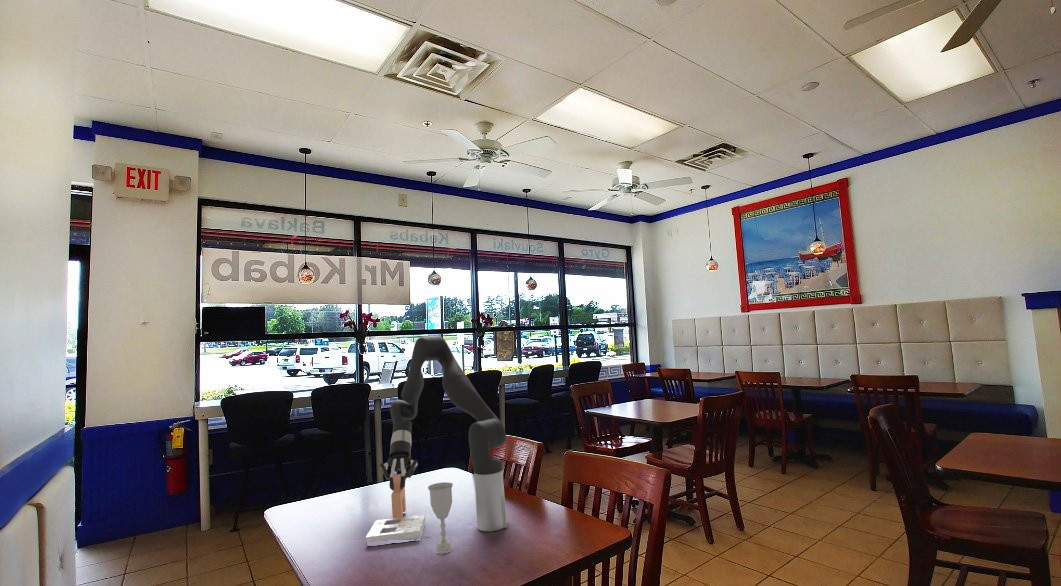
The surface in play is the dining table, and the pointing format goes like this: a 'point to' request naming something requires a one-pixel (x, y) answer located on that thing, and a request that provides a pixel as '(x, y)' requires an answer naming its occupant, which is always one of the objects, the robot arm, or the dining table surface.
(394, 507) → the clip
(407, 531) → the plate
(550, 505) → the dining table surface
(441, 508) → the chalice
